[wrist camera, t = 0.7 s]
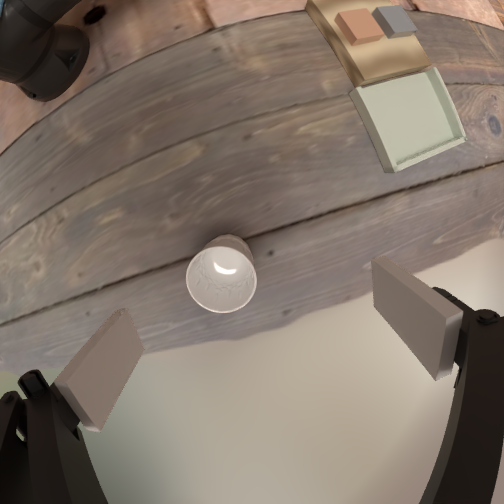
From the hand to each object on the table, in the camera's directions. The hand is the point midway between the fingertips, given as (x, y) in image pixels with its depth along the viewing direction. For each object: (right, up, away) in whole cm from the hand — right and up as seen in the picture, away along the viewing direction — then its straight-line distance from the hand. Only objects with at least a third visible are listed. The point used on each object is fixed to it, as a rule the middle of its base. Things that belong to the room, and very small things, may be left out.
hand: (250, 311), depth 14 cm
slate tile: (+21, +37, +13) cm, 45 cm away
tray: (+25, +24, +21) cm, 40 cm away
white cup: (-3, +2, +27) cm, 27 cm away
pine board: (+18, +37, +18) cm, 45 cm away
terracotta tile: (+15, +35, +14) cm, 40 cm away
